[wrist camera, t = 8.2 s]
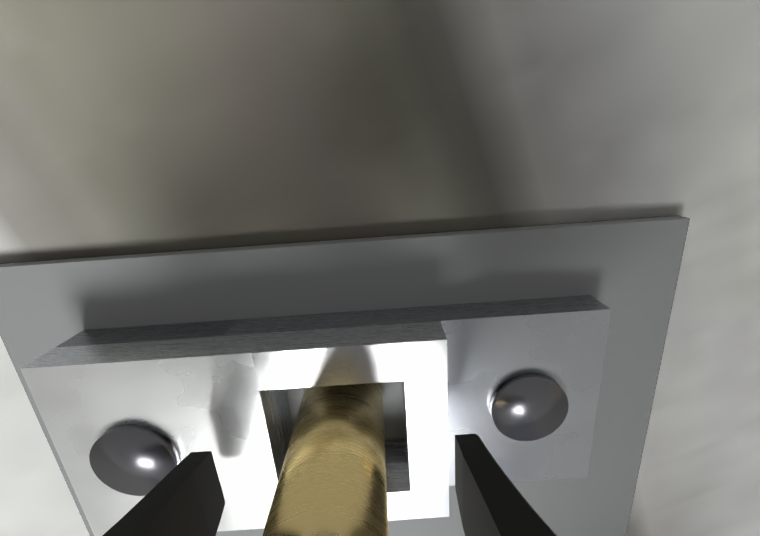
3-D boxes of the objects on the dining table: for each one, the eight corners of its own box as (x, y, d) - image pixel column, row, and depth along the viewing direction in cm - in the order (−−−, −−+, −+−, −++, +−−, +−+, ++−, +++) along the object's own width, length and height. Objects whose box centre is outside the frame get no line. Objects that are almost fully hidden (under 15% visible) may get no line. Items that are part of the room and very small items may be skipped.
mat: (677, 215, 12) (689, 218, 12) (609, 573, 18) (615, 585, 17) (-14, 264, 12) (-30, 269, 12) (132, 603, 18) (126, 615, 18)
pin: (380, 358, 13) (384, 513, 8) (385, 423, 14) (393, 605, 8) (299, 364, 13) (244, 523, 8) (310, 429, 14) (268, 614, 9)
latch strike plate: (589, 294, 13) (645, 331, 10) (570, 451, 15) (612, 514, 12) (83, 330, 13) (10, 375, 10) (138, 479, 15) (89, 547, 12)
